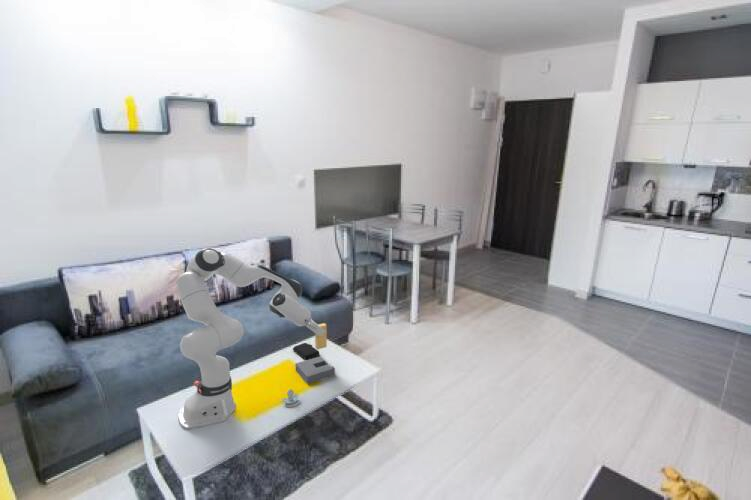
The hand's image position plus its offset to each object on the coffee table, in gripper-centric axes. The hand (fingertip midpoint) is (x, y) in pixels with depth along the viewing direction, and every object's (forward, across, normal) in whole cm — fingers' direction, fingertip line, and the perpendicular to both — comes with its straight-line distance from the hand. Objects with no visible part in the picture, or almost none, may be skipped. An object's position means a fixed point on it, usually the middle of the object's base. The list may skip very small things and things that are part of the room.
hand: (320, 331), depth 198 cm
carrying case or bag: (+18, +21, +15) cm, 31 cm away
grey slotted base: (+14, 0, +18) cm, 23 cm away
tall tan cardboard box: (+7, 0, +6) cm, 9 cm away
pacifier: (+1, -17, +32) cm, 36 cm away
